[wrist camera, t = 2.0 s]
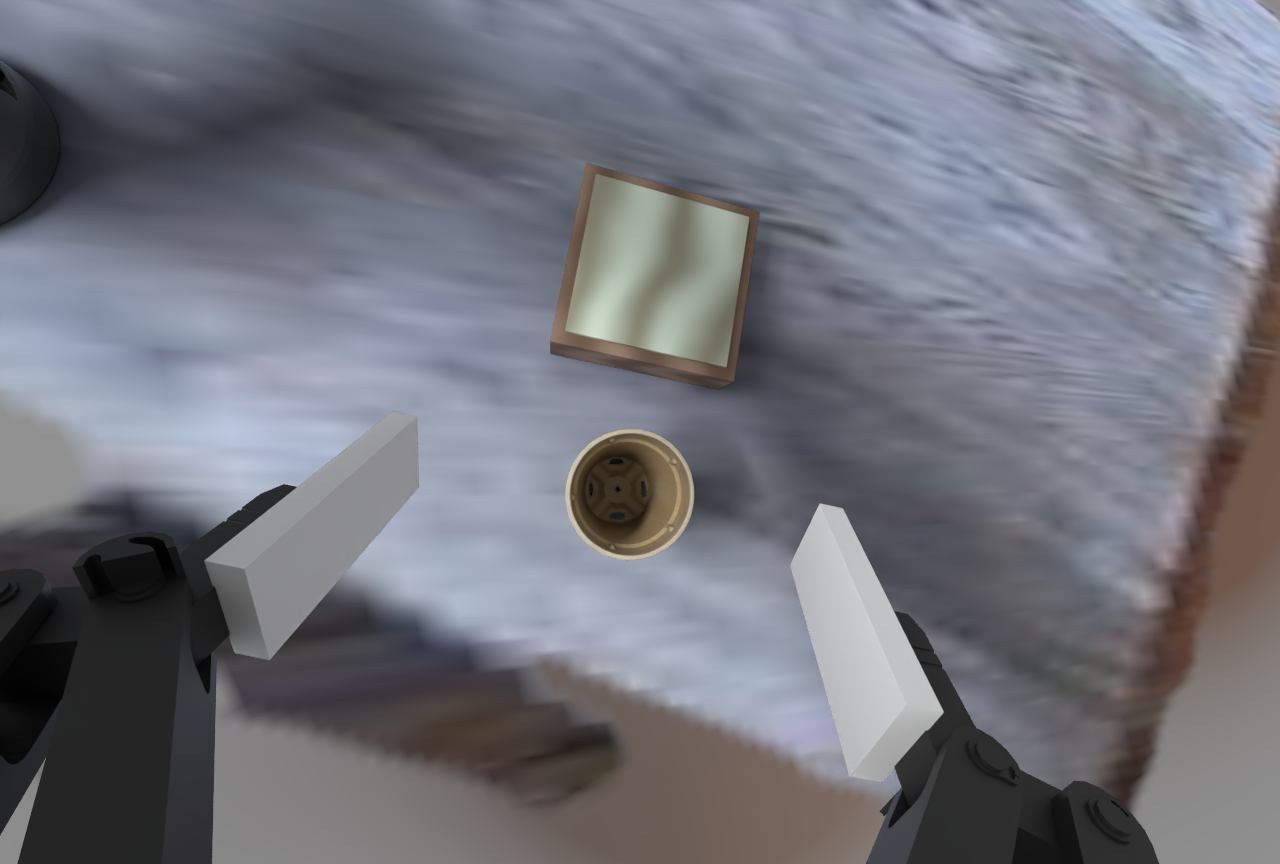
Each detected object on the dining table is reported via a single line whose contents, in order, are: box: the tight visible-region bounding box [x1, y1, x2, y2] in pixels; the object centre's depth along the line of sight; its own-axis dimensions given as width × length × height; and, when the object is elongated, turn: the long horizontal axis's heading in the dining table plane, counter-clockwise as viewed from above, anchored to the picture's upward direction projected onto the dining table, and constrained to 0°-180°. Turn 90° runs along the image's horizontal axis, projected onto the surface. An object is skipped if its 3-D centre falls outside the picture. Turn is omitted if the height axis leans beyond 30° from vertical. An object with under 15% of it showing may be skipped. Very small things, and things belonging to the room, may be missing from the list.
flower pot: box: [566, 429, 694, 560], centre depth 38 cm, size 9×9×9 cm
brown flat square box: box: [550, 163, 759, 389], centre depth 42 cm, size 16×16×4 cm
